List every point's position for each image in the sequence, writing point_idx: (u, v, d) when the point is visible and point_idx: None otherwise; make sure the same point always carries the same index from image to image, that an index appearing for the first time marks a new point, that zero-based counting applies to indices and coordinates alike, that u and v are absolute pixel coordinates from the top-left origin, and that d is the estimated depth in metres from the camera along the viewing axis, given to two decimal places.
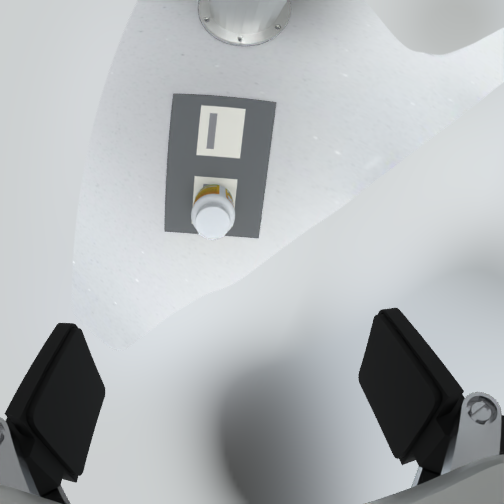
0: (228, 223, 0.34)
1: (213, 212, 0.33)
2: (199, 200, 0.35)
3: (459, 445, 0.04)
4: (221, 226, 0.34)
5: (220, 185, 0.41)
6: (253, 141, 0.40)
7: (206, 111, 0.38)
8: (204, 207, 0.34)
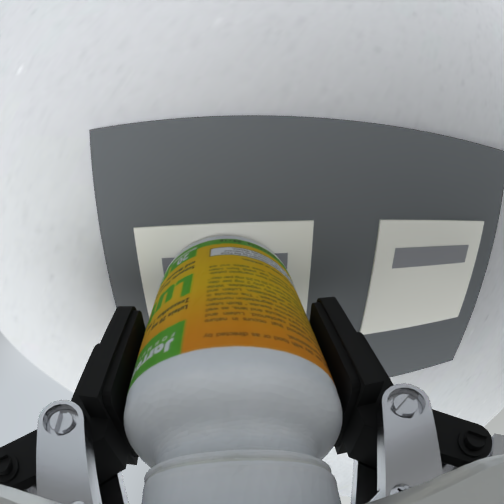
0: None
1: None
2: (324, 393, 0.06)
3: (389, 445, 0.05)
4: None
5: None
6: (392, 347, 0.15)
7: (470, 236, 0.13)
8: (335, 499, 0.04)
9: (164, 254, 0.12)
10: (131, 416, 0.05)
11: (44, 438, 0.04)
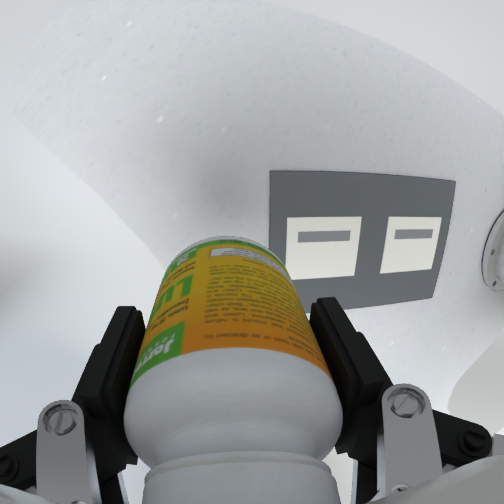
0: None
1: None
2: (324, 394, 0.06)
3: (389, 445, 0.05)
4: None
5: None
6: (396, 283, 0.30)
7: (434, 224, 0.28)
8: (335, 501, 0.04)
9: (299, 230, 0.26)
10: (131, 417, 0.05)
11: (44, 438, 0.04)
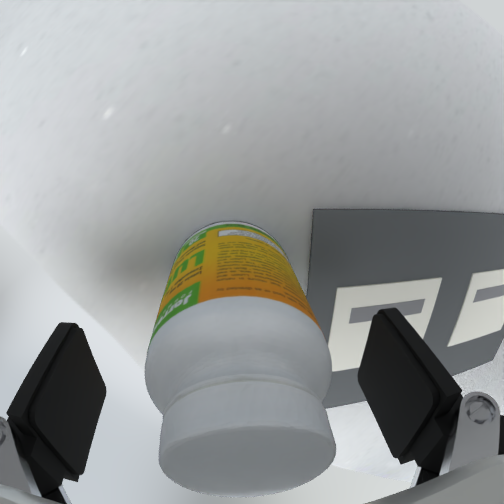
0: (255, 495, 0.06)
1: (307, 465, 0.05)
2: (315, 337, 0.07)
3: (458, 445, 0.04)
4: (241, 488, 0.06)
5: None
6: (461, 353, 0.19)
7: None
8: (326, 425, 0.06)
9: (354, 305, 0.15)
10: (153, 360, 0.07)
11: None
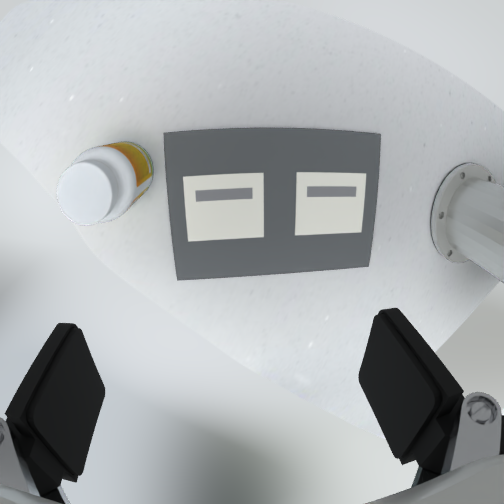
0: (89, 222, 0.17)
1: (101, 192, 0.16)
2: (120, 157, 0.18)
3: (459, 445, 0.04)
4: (82, 212, 0.16)
5: None
6: (319, 247, 0.30)
7: (357, 181, 0.27)
8: (107, 173, 0.16)
9: (196, 189, 0.26)
10: None
11: None
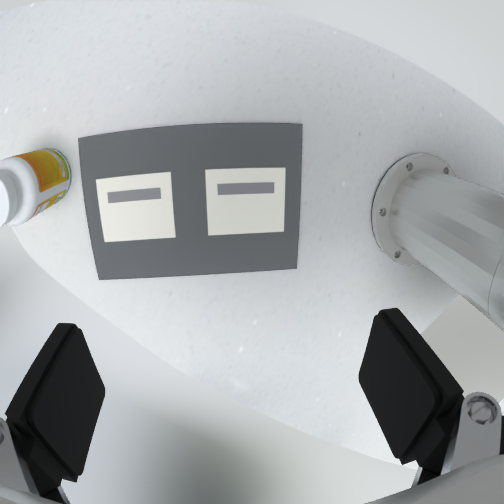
0: None
1: (1, 199, 0.15)
2: (23, 166, 0.16)
3: (459, 445, 0.04)
4: None
5: (68, 181, 0.23)
6: (236, 248, 0.29)
7: (275, 177, 0.27)
8: (6, 182, 0.15)
9: (108, 190, 0.25)
10: None
11: None
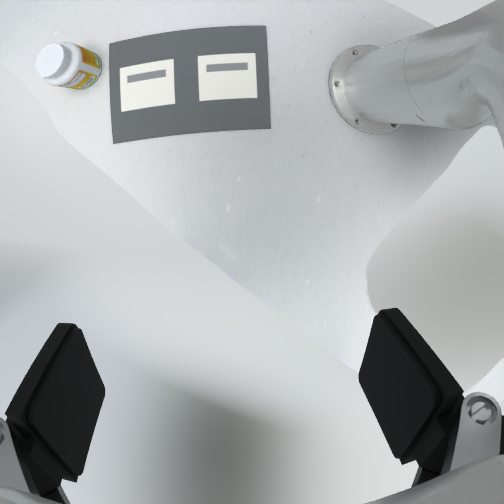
0: (49, 74, 0.22)
1: (58, 56, 0.21)
2: (74, 44, 0.23)
3: (459, 445, 0.04)
4: (46, 69, 0.21)
5: (99, 70, 0.30)
6: (221, 111, 0.34)
7: (248, 59, 0.32)
8: (63, 47, 0.21)
9: (128, 74, 0.31)
10: None
11: None
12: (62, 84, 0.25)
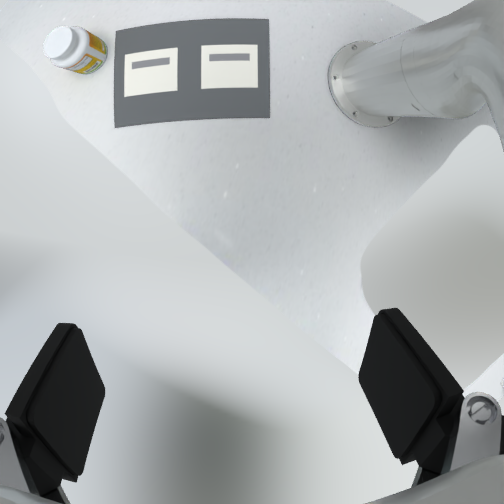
0: (56, 55, 0.21)
1: (66, 38, 0.21)
2: (82, 29, 0.23)
3: (459, 445, 0.04)
4: (54, 50, 0.21)
5: (105, 56, 0.29)
6: (222, 99, 0.34)
7: (250, 50, 0.32)
8: (72, 30, 0.21)
9: (132, 61, 0.31)
10: None
11: None
12: (68, 66, 0.25)
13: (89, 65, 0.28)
